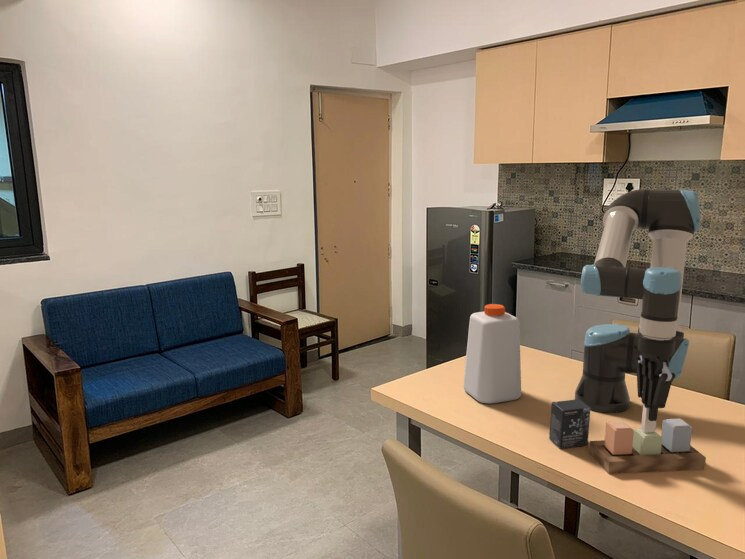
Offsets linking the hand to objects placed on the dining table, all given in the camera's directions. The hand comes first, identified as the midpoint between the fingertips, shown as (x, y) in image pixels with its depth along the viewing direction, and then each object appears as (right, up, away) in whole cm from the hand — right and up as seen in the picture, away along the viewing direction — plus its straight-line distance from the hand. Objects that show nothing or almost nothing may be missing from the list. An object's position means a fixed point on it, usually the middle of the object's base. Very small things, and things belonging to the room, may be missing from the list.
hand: (648, 430), depth 136 cm
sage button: (0, -6, +1) cm, 7 cm away
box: (-15, -6, +11) cm, 20 cm away
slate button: (+7, -4, +1) cm, 8 cm away
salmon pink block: (-7, -5, +1) cm, 8 cm away
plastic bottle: (-28, 0, +42) cm, 50 cm away
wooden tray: (0, -8, +2) cm, 8 cm away
